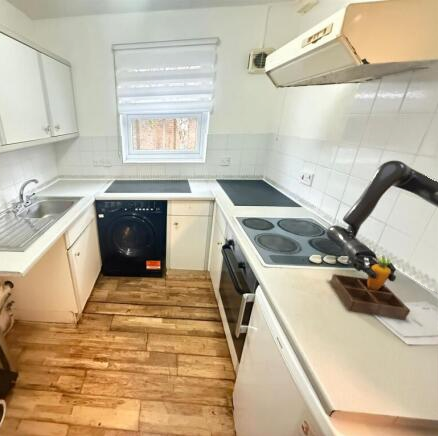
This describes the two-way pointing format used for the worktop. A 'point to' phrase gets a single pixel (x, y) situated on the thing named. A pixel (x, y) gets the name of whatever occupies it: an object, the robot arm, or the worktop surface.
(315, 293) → the worktop surface
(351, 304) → the grid
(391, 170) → the robot arm
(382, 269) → the carrot
